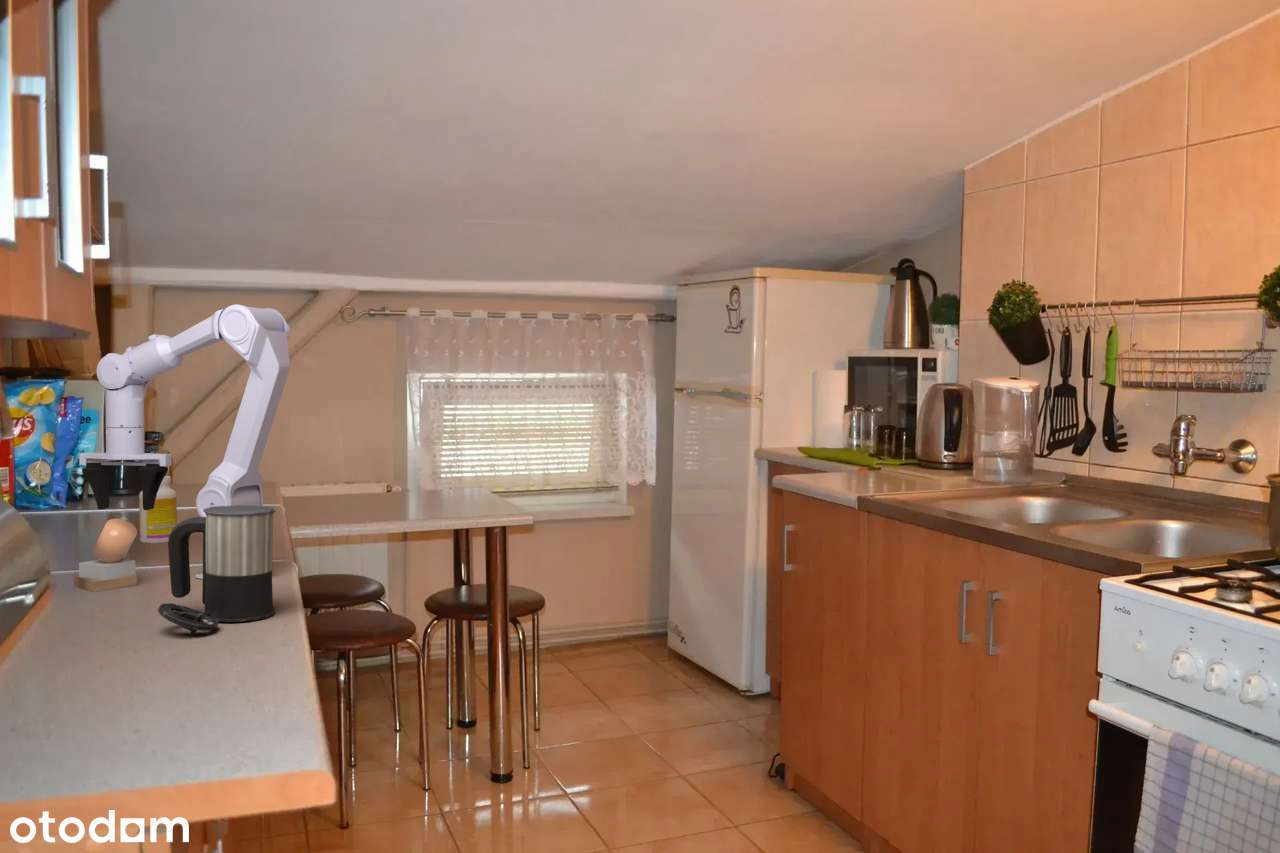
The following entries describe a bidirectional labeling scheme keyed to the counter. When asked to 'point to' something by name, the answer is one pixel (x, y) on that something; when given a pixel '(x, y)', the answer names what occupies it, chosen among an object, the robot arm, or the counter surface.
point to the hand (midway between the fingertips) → (125, 509)
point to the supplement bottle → (158, 515)
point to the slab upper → (106, 569)
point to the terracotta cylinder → (115, 540)
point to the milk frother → (224, 567)
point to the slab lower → (104, 583)
